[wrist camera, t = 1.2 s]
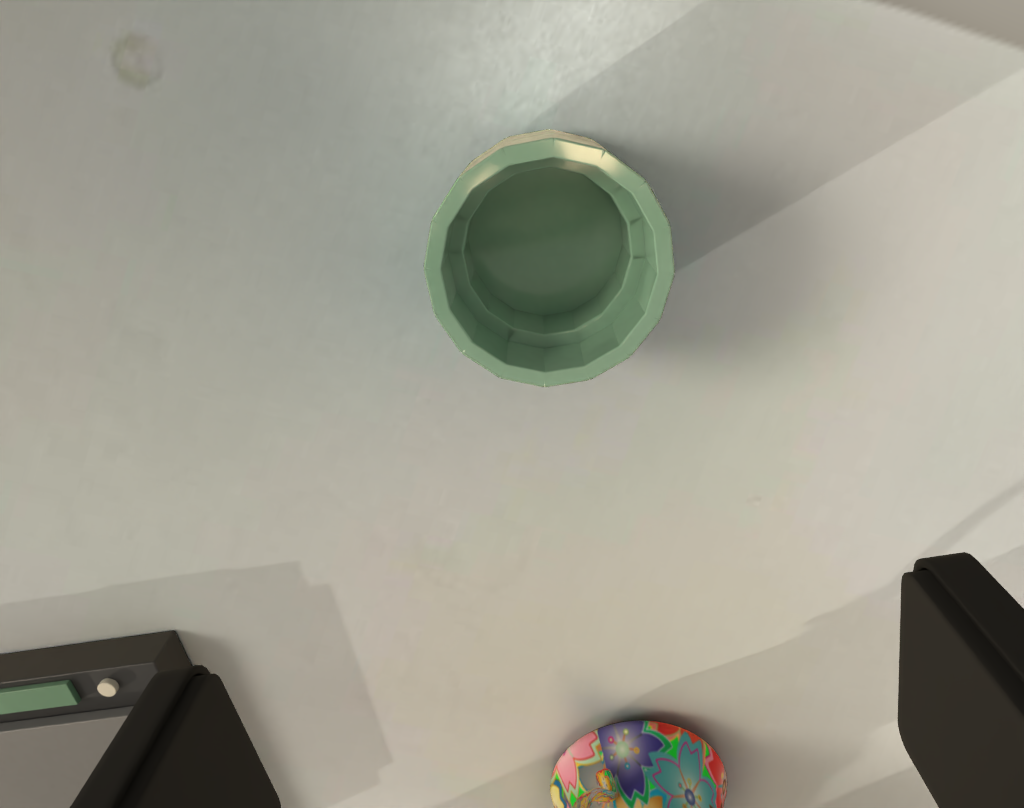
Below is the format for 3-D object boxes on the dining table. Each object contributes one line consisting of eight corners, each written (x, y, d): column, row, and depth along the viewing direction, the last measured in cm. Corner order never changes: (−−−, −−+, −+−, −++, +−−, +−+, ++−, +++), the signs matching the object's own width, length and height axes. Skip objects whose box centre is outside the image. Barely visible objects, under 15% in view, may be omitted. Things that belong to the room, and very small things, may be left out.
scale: (-104, 668, 33) (-153, 712, 31) (175, 629, 32) (146, 672, 30) (30, 859, 39) (-2, 909, 37) (273, 833, 38) (255, 883, 35)
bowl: (424, 151, 24) (399, 166, 19) (634, 111, 23) (661, 116, 18) (466, 348, 26) (454, 402, 22) (655, 316, 26) (683, 365, 21)
